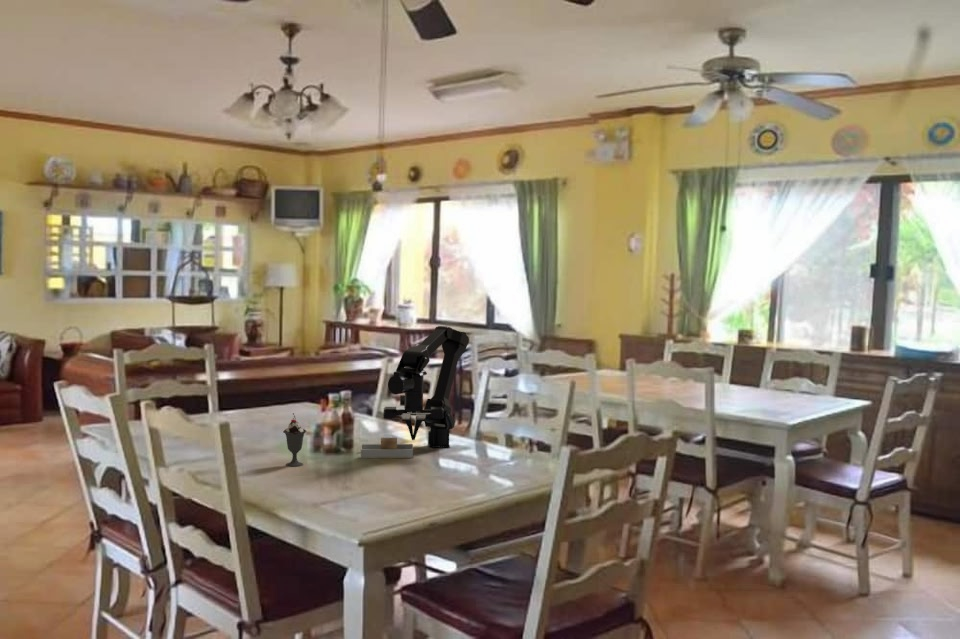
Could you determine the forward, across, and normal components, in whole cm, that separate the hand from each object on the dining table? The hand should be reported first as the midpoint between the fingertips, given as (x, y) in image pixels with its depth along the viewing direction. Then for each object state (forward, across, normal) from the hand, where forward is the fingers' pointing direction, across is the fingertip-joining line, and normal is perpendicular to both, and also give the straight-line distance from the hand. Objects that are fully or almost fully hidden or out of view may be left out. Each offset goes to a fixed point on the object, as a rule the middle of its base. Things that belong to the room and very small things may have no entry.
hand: (413, 439), depth 265 cm
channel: (+5, +8, 0) cm, 9 cm away
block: (+5, +8, 0) cm, 9 cm away
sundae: (+5, +35, +13) cm, 38 cm away
